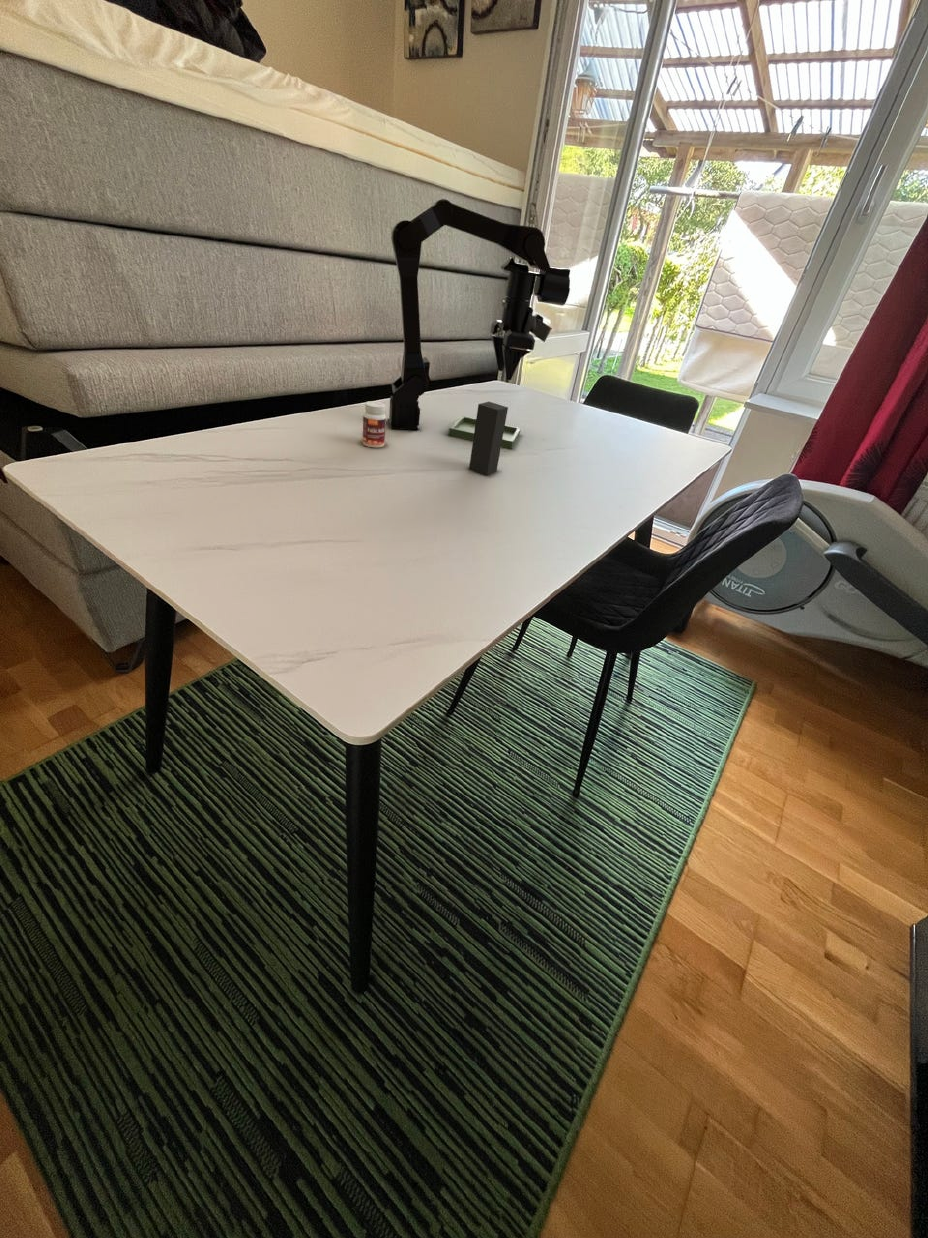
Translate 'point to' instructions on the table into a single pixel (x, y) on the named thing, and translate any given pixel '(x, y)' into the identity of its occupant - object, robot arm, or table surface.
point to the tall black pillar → (488, 437)
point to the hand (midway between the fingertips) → (504, 375)
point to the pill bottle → (374, 424)
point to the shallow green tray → (467, 427)
